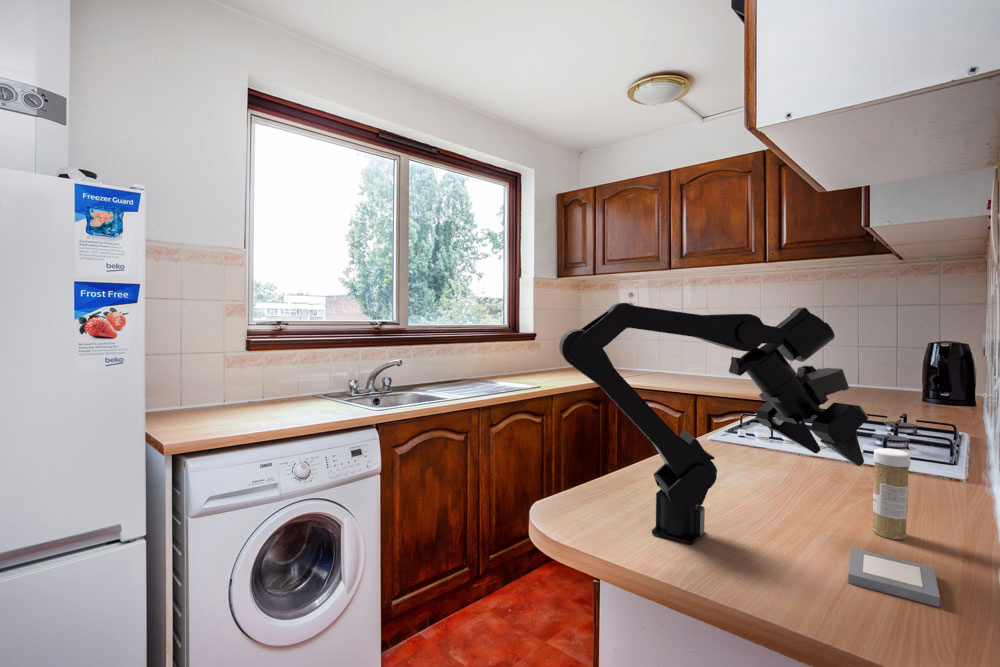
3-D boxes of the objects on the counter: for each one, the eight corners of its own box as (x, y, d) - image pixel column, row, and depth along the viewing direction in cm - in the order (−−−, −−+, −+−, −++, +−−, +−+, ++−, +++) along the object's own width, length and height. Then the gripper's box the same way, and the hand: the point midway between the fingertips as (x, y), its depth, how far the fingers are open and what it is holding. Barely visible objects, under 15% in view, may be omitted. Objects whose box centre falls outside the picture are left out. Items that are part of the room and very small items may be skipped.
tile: (848, 582, 65) (848, 573, 65) (851, 556, 72) (851, 547, 72) (939, 607, 60) (939, 596, 60) (933, 575, 67) (933, 566, 67)
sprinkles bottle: (873, 525, 83) (875, 445, 82) (908, 534, 80) (911, 450, 79) (869, 534, 79) (872, 451, 79) (906, 543, 76) (909, 456, 76)
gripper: (860, 347, 70) (929, 435, 70) (778, 348, 88) (833, 417, 88) (801, 397, 69) (871, 486, 69) (731, 388, 88) (786, 457, 88)
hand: (838, 457), depth 78 cm, fingers open, 9 cm apart
